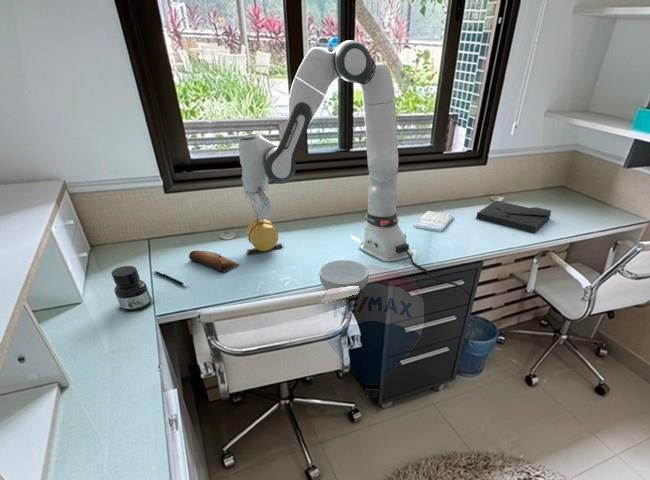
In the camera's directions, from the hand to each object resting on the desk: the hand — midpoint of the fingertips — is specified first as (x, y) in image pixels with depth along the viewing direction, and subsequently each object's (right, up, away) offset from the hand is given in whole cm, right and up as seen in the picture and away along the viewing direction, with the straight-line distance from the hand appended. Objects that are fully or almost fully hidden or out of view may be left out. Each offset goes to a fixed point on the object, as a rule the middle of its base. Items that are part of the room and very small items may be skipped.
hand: (260, 221), depth 154 cm
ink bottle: (-33, -34, -25) cm, 53 cm away
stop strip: (-1, -9, +9) cm, 13 cm away
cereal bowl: (+33, -28, -14) cm, 46 cm away
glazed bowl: (-1, -3, +5) cm, 6 cm away
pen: (-28, -24, -12) cm, 39 cm away
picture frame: (+112, +13, +44) cm, 121 cm away
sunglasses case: (-17, -16, -1) cm, 24 cm away
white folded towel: (+72, +10, +38) cm, 82 cm away
